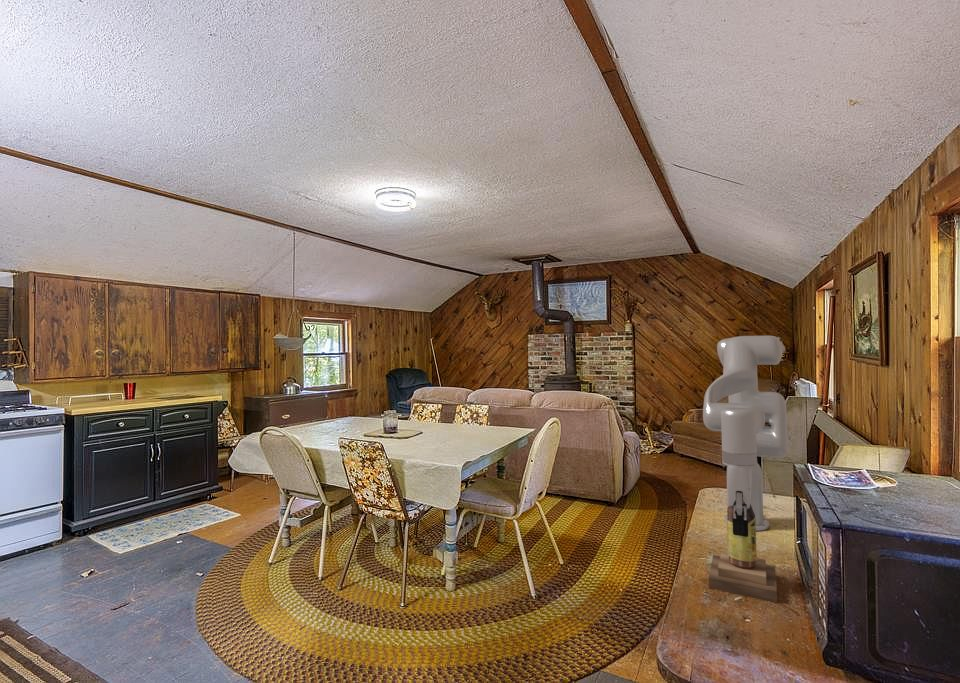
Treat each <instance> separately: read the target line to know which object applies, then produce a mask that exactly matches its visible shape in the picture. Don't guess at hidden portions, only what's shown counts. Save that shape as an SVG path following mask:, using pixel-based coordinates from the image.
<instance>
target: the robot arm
mask: <svg viewBox="0 0 960 683" xmlns="http://www.w3.org/2000/svg"><path fill="white" fill-rule="evenodd" d="M716 350H717V355H718V358H719V361H720V363H721V365H722V367H723V368H722V373H723V374H722V375H720V376H719V377H717V378H716V379H715V380H714V381H713V382H712V383H710V385H709V386H708V387H707V389H706V391H705V393H704V397H703V406H702V407H703V408H702V419H703V421H702V422H703V425H704V426H705V427H706V428H707V430H709V431H713V432H721V459H722V461H721V462H722V464H723V465H724V466H726V505H727V508H728V507H730V506H733V534H734V535H738V536H744V537H748V519H747V509H749V508H750V504H751V506H752V509H753V511H754V514H755V518H756V532H759V531H760V532H761V531H765V530H767V529H769V528H770V522H769V521H768V520H767V519H765V518H764V490H763V489H764V488H763V471H762V467H761V465H760V464H759V463H758V458H757V457H761V458H762V457H764V458H774V459H775V458H779V459H780V458H784V457H786V456H787V453H788V451H789V437H788V436H789V435H788V434H789V433H788V414H787V412H788V411H787V404H786V400H785V398H784V395H782V393H779V392H775V391H760V390H759V384H758V383H759V380H758V365H760V366H761V365H763V366H765V365H766V366H767V365H773V366H775V365H779V364H780V363H781V360H782V357H783V347H782V343H781V341H780V339H779V338H778V337H777V336H774V335H741V336H740V335H739V336H734V337H727V338H723V339H721V340H719V341H718V343H717V345H716ZM726 397H728V402H719V401H720V400H721V399H724V398H726ZM766 423H768V424H769V425H770V426H766ZM736 491H737V493H736ZM742 492H743V498H742ZM735 502H736V505H735ZM744 502H745V503H744ZM733 504H734V505H733ZM742 505H745V506H742ZM742 510H744V511H742ZM727 519H728V518H727V514H726V515H724V522H725V523H726V524H727Z"/></svg>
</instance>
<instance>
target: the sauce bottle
mask: <svg viewBox="0 0 960 683" xmlns="http://www.w3.org/2000/svg"><path fill="white" fill-rule="evenodd" d="M736 493H737V491H736ZM742 498H743V492H742ZM744 503H745V502H744ZM733 505H734V504H733ZM735 505H736V502H735ZM742 506H745V505H742ZM726 511H727V512H726V513H727V514H726V515H727V518H728V519H727V523H726V525H727V526H726V527H727V528H726V529H727V530H726V532H727V535H726V536H727V553H728V555H729V562H730V563H732V564H733V565H735V566H738V567H742V568H753V567H755V565H756V559H757V558H758V556H757V554H758V553H757V531H756V518H755V514H754V511H753V509H752V506H751V504H750V508H749V509H747V519H748V537H744V536H738V535H734V534H733V506H730V507H728V506H727V510H726ZM742 511H744V510H742Z"/></svg>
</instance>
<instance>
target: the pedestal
mask: <svg viewBox="0 0 960 683" xmlns="http://www.w3.org/2000/svg"><path fill="white" fill-rule="evenodd" d="M776 575H777V573H776V566H775V565H773V564H768V563H766V559H765V558H759V557H757V559H756V565H755V567H753V568H742V567H738V566H735V565H733V564H732V563H730V562H729V555H728V552H724V551H720V555H718V554H717V555H715V554H713V555H712V560H711V565H710V570H709V575H708V589H710V588H711V589H712V590H715V589H717V590H716V591H719V590H721V591H720V592H724V593H725V592H726V593H731V594H733V595H734V594H735V595H740V596H744V597H749V598H752V599H757V600H758V599H759V600H763V601H767V602H772V603H778V594H777V593H778V592H777V591H778V590H777V576H776Z"/></svg>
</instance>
